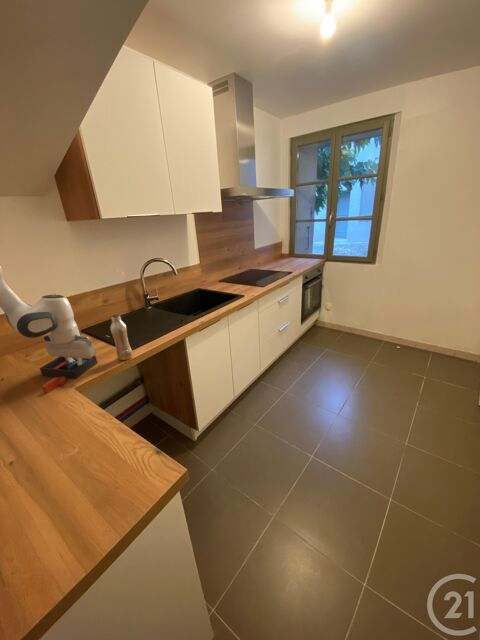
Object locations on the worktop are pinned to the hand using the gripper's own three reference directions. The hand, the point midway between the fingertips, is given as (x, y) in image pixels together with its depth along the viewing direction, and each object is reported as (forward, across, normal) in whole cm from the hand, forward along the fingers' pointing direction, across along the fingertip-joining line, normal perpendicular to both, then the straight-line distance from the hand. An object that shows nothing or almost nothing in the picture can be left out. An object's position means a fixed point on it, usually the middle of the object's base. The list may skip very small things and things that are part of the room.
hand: (76, 365), depth 107 cm
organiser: (+2, +4, 0) cm, 5 cm away
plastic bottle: (+3, -14, -12) cm, 19 cm away
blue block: (+2, 0, 0) cm, 2 cm away
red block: (+2, 0, +11) cm, 11 cm away
